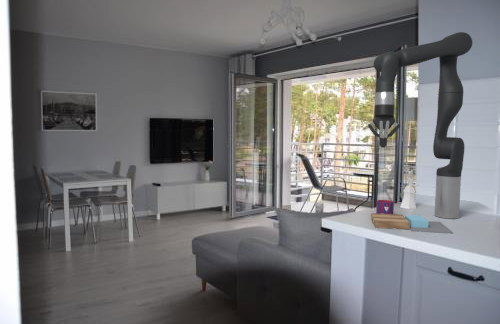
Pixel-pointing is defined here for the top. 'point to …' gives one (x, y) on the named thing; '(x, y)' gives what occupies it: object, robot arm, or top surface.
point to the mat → (433, 228)
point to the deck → (390, 221)
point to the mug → (384, 207)
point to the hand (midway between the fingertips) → (382, 147)
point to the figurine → (409, 193)
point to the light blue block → (417, 221)
